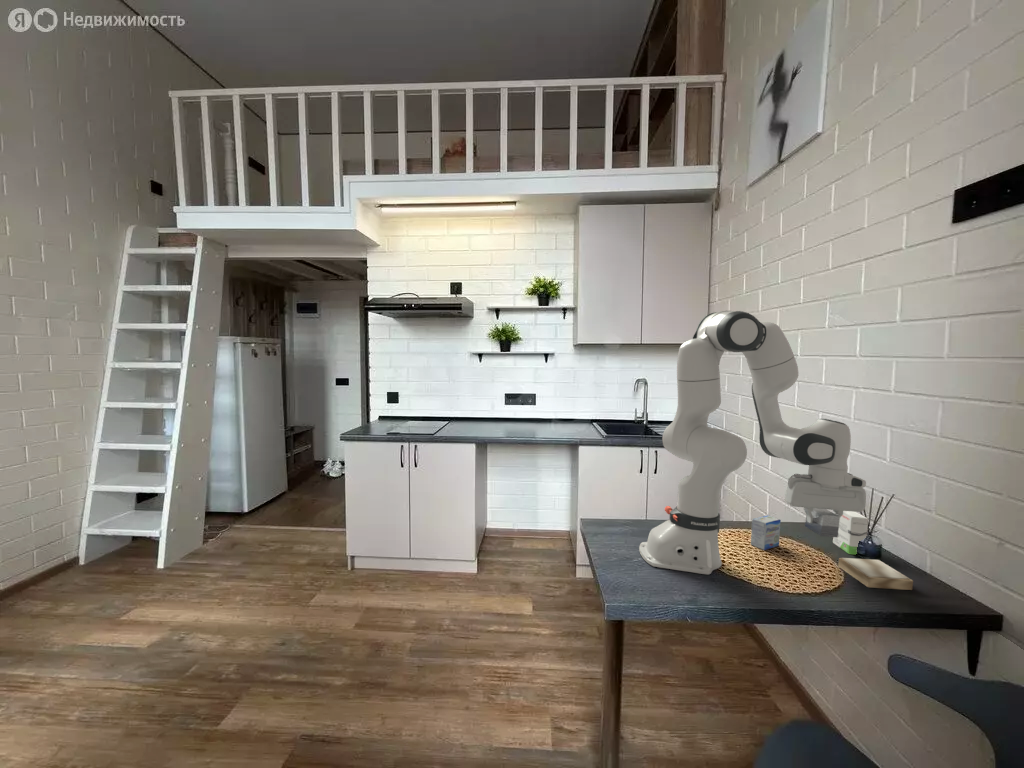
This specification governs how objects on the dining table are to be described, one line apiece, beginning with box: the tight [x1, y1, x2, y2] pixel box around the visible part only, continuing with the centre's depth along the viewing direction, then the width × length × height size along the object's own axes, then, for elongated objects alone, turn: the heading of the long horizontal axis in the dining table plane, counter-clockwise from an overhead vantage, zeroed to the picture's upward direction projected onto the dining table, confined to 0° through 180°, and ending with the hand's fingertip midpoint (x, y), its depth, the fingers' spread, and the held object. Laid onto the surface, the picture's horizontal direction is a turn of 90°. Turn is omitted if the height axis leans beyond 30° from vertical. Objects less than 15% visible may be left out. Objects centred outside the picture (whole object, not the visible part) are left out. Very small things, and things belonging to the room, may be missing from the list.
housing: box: [804, 508, 840, 538], centre depth 121 cm, size 4×7×6 cm, turn 176°
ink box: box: [832, 511, 869, 556], centre depth 133 cm, size 9×5×12 cm, turn 171°
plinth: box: [837, 557, 914, 591], centre depth 115 cm, size 11×11×3 cm
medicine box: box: [750, 515, 782, 551], centre depth 133 cm, size 8×4×9 cm, turn 117°
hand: (821, 523), depth 121 cm, fingers closed on housing, 4 cm apart
